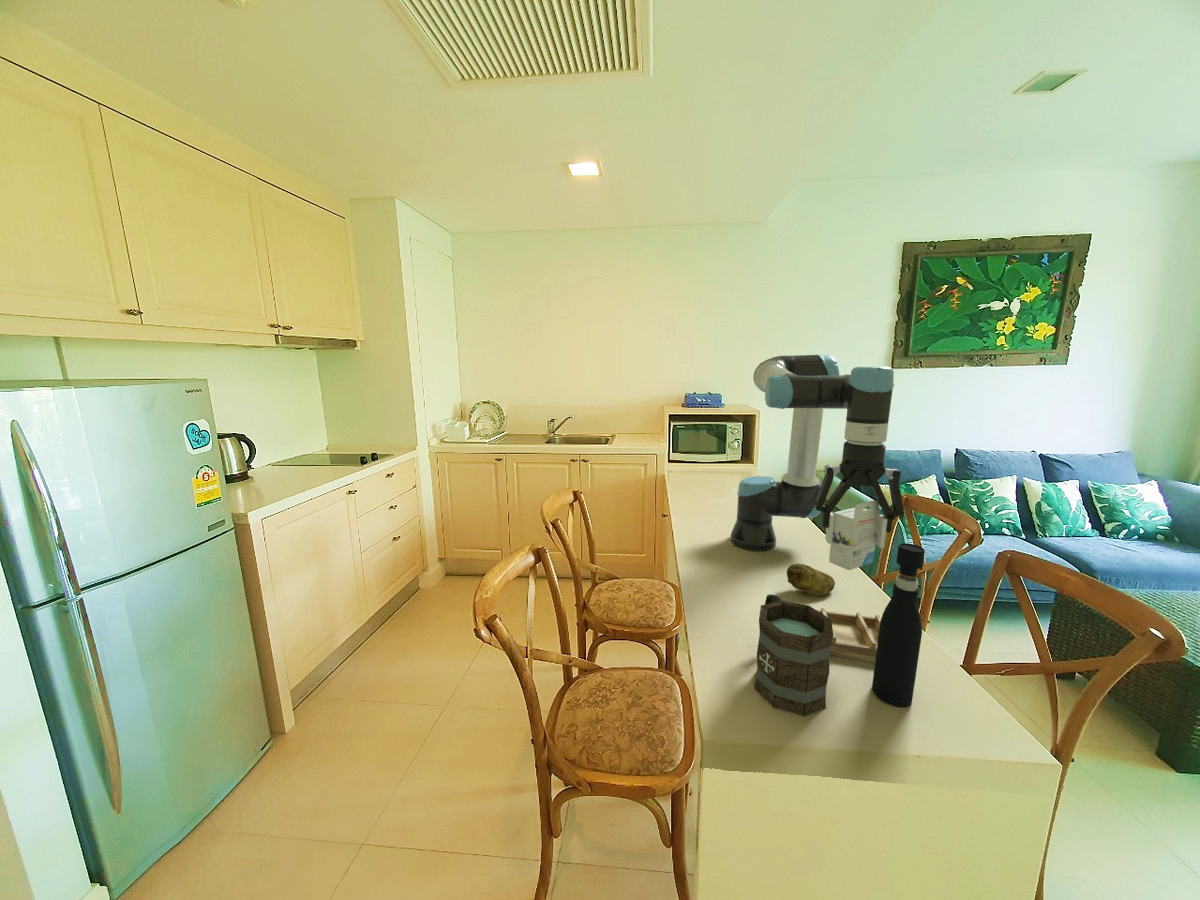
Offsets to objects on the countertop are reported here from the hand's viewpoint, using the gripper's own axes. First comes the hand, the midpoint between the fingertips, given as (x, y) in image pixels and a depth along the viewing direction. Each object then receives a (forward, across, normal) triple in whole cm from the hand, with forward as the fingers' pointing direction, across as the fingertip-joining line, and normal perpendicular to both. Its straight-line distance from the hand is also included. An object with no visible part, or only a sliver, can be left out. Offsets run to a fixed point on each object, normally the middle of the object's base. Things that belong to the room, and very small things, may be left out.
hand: (853, 543), depth 95 cm
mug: (+24, -15, -16) cm, 32 cm away
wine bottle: (+24, +5, -16) cm, 29 cm away
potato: (+24, -4, +21) cm, 32 cm away
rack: (+24, -1, 0) cm, 24 cm away
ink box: (+5, 0, 0) cm, 5 cm away
